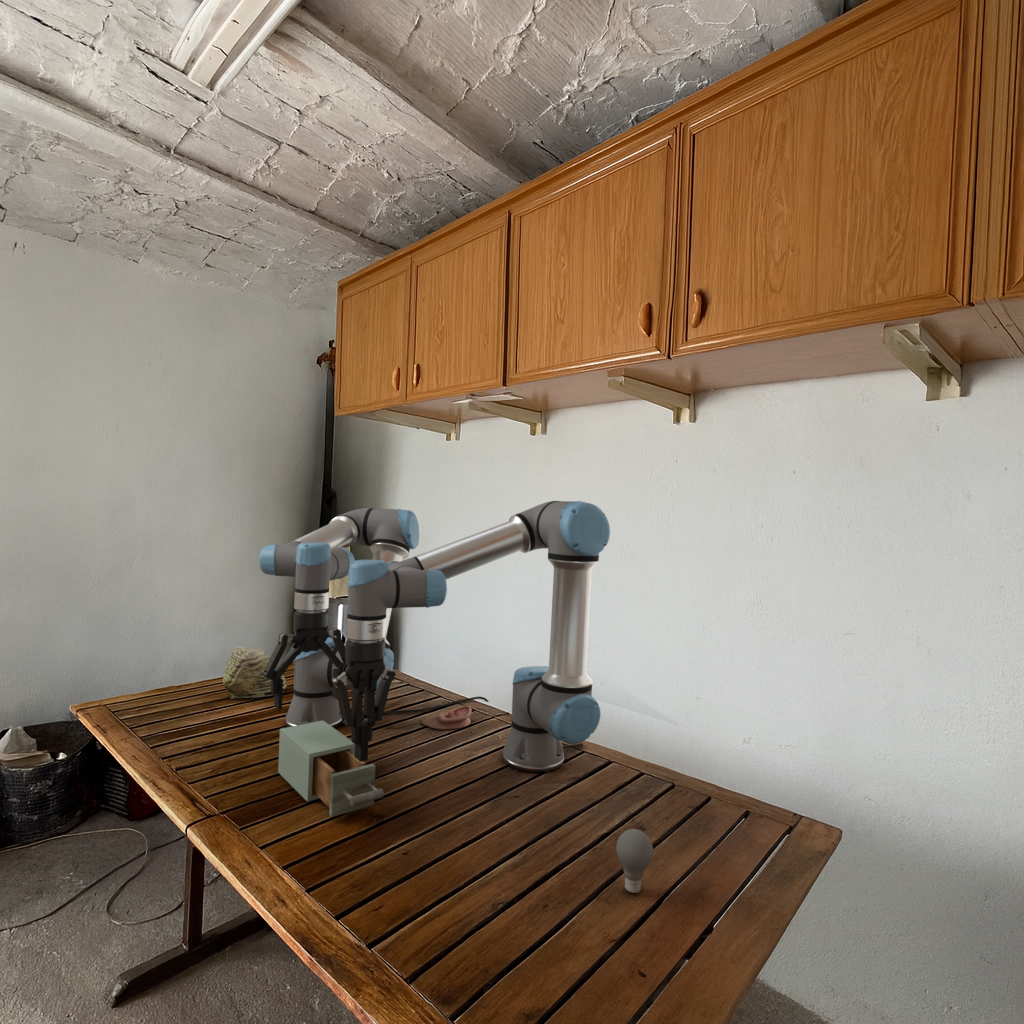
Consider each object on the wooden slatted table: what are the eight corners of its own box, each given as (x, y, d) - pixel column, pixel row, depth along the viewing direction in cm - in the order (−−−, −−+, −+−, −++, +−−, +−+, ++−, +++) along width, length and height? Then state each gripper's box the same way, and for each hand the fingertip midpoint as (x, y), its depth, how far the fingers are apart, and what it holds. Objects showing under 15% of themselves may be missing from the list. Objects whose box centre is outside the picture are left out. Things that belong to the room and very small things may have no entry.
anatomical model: (418, 712, 176) (431, 700, 187) (417, 726, 176) (431, 713, 188) (464, 718, 174) (475, 705, 185) (463, 732, 174) (474, 718, 185)
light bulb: (610, 879, 108) (613, 822, 108) (644, 879, 109) (647, 822, 109) (619, 902, 102) (622, 840, 102) (655, 901, 103) (658, 840, 103)
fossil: (218, 695, 195) (220, 647, 195) (278, 685, 208) (279, 640, 207) (228, 703, 189) (230, 653, 188) (289, 692, 201) (290, 645, 201)
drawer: (389, 817, 125) (390, 776, 125) (345, 831, 119) (347, 788, 119) (340, 776, 142) (342, 740, 141) (300, 786, 136) (302, 749, 136)
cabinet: (353, 789, 138) (355, 743, 138) (307, 801, 131) (309, 754, 131) (321, 761, 151) (323, 720, 151) (278, 772, 144) (279, 728, 144)
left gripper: (261, 617, 134) (257, 717, 134) (368, 608, 150) (365, 697, 150) (249, 611, 139) (246, 707, 140) (354, 603, 155) (351, 689, 156)
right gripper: (342, 646, 117) (337, 773, 117) (404, 639, 125) (399, 757, 126) (326, 638, 123) (321, 759, 123) (386, 632, 131) (381, 745, 132)
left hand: (307, 702), depth 145 cm, fingers open, 13 cm apart
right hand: (360, 758), depth 124 cm, fingers closed
